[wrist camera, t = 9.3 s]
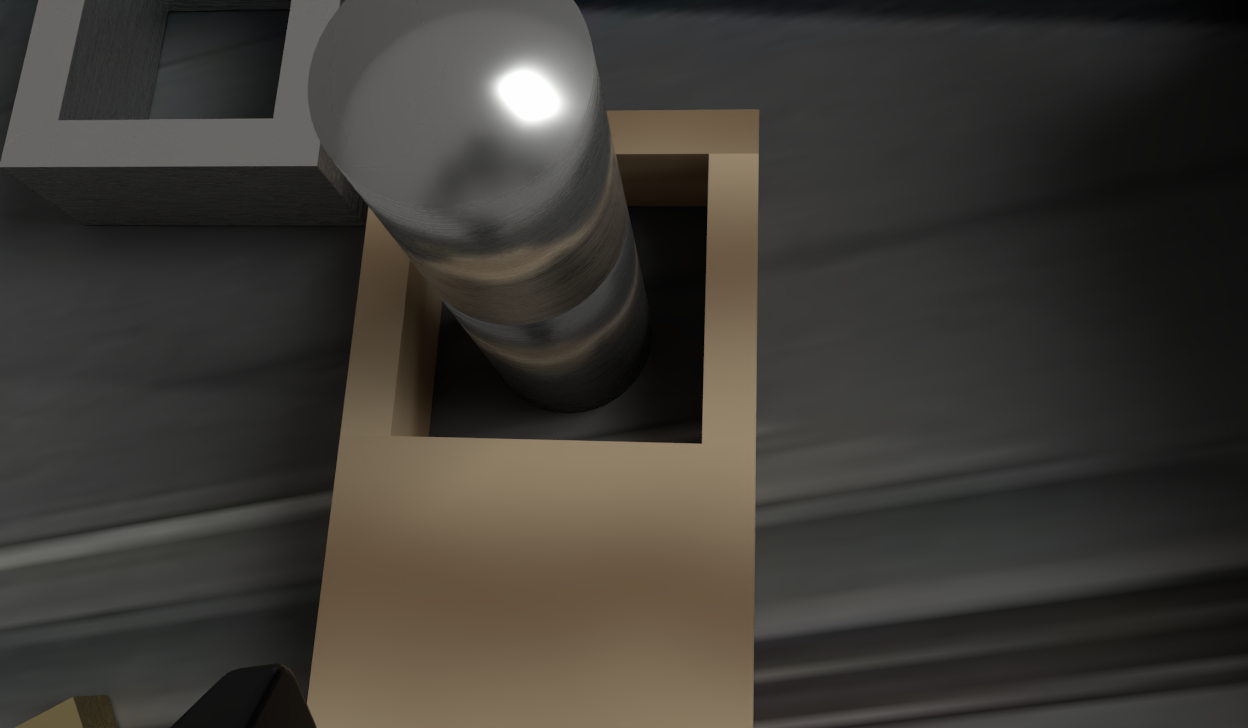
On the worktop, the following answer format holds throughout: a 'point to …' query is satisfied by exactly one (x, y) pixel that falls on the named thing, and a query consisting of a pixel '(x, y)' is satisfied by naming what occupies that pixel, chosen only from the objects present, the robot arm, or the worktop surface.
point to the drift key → (76, 714)
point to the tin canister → (494, 180)
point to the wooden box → (550, 508)
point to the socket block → (166, 126)
